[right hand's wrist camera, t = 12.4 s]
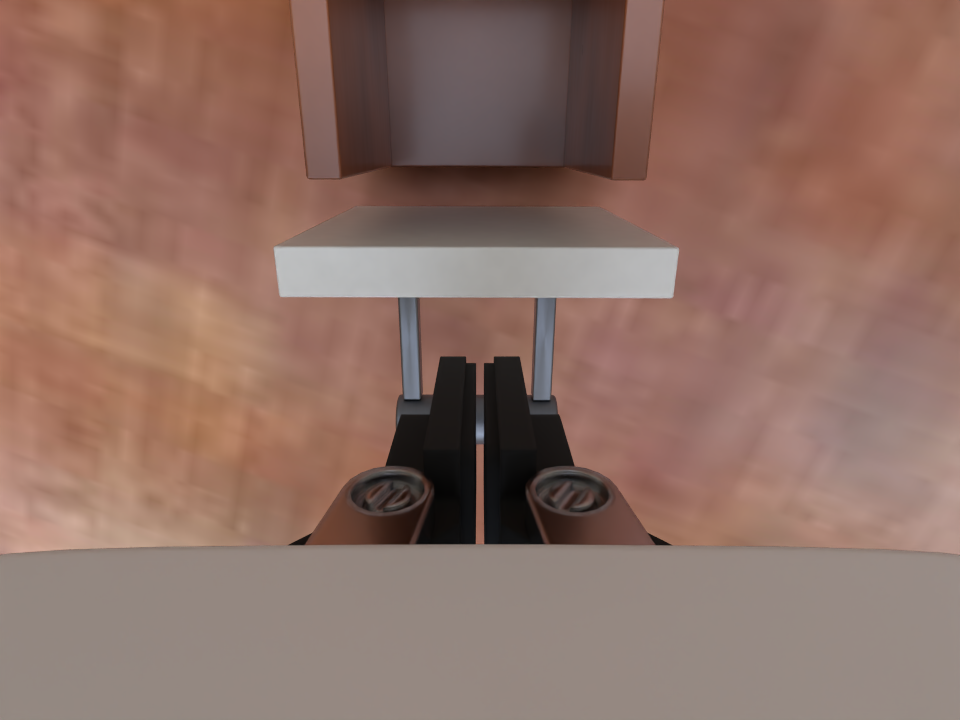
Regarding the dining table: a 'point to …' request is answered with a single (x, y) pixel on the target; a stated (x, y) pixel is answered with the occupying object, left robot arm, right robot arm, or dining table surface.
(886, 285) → the dining table surface
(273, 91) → the dining table surface
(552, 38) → the drawer
